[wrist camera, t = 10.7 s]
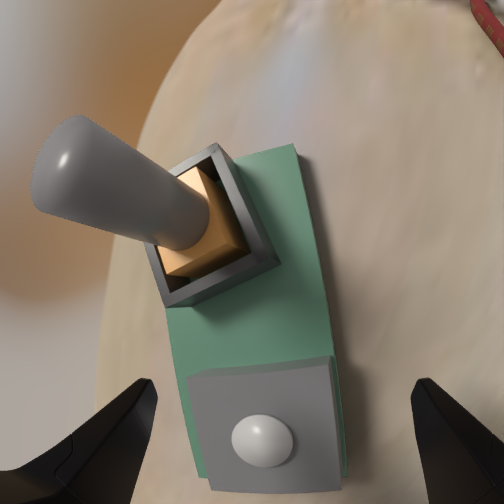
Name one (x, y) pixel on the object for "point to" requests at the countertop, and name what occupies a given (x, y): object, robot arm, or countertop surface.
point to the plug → (136, 198)
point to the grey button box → (269, 427)
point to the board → (262, 294)
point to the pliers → (488, 23)
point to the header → (264, 255)
